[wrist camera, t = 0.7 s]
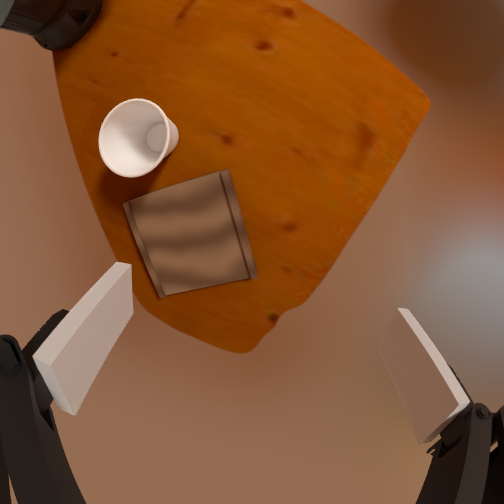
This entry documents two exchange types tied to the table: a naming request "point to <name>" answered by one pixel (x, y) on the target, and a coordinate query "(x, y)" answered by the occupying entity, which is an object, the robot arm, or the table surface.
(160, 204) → the board
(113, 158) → the cup
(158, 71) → the table surface
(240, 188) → the table surface
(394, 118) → the table surface
